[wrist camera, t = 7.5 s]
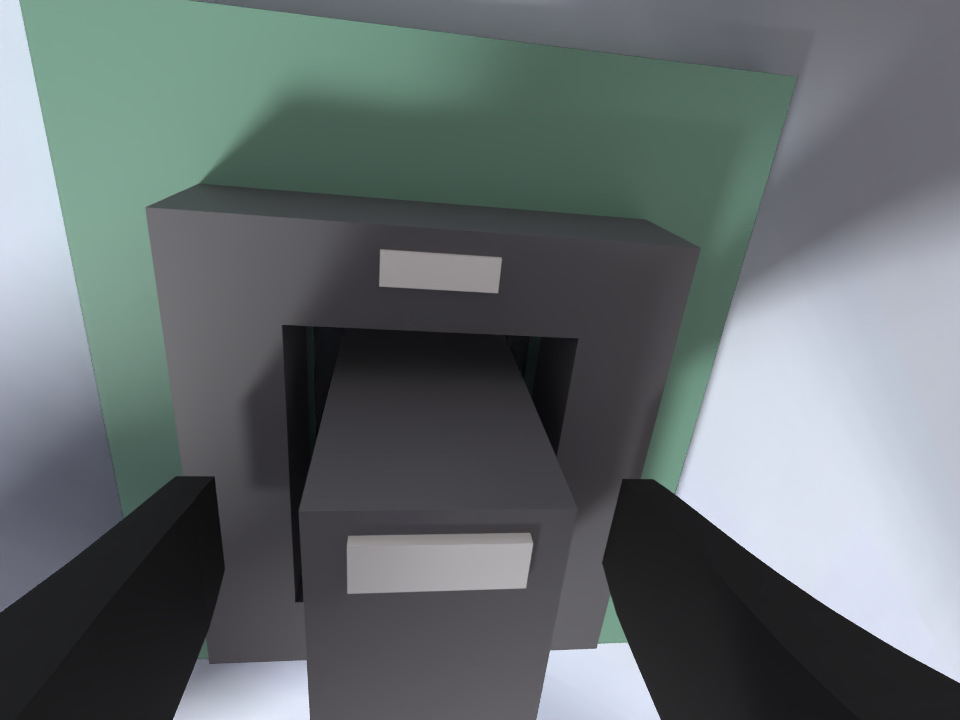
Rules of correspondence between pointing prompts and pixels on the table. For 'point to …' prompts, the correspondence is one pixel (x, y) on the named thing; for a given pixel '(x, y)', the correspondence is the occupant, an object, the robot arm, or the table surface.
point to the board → (387, 250)
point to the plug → (431, 533)
